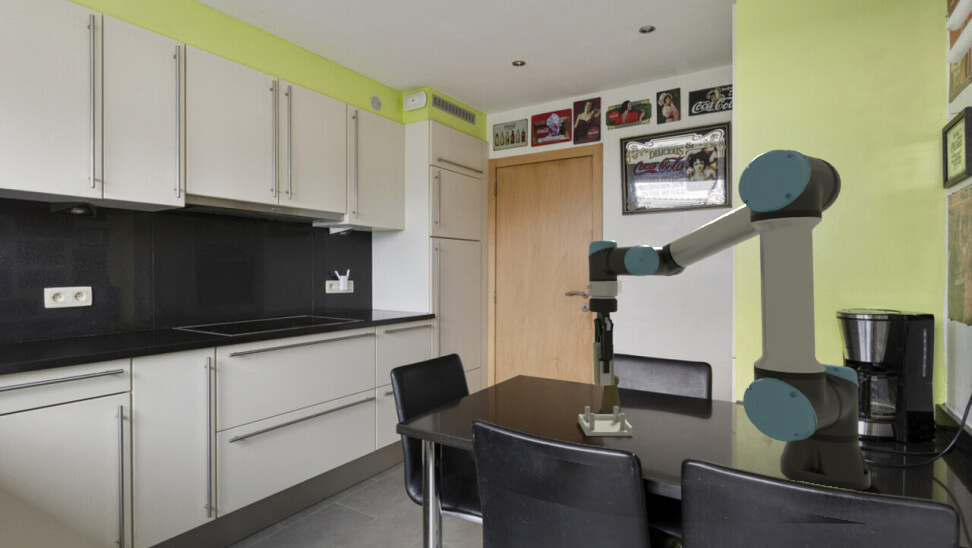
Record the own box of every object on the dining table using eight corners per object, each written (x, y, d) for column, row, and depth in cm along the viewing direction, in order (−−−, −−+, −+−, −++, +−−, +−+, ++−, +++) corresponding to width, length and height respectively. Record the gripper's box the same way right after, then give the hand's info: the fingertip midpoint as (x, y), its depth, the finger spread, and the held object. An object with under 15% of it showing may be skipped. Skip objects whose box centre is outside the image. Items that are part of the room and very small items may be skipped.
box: (612, 382, 133) (612, 342, 133) (614, 385, 128) (614, 344, 128) (592, 381, 133) (592, 342, 133) (594, 385, 129) (594, 344, 129)
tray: (632, 435, 124) (632, 416, 124) (586, 435, 125) (586, 416, 125) (621, 422, 136) (620, 404, 136) (578, 422, 137) (578, 404, 137)
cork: (600, 411, 147) (599, 375, 147) (601, 406, 153) (601, 372, 153) (620, 413, 145) (620, 376, 146) (621, 408, 151) (620, 373, 151)
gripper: (583, 296, 140) (584, 376, 140) (595, 298, 122) (596, 390, 122) (609, 296, 139) (610, 376, 139) (625, 298, 122) (625, 390, 122)
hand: (603, 382), depth 131 cm, fingers closed on box, 4 cm apart
